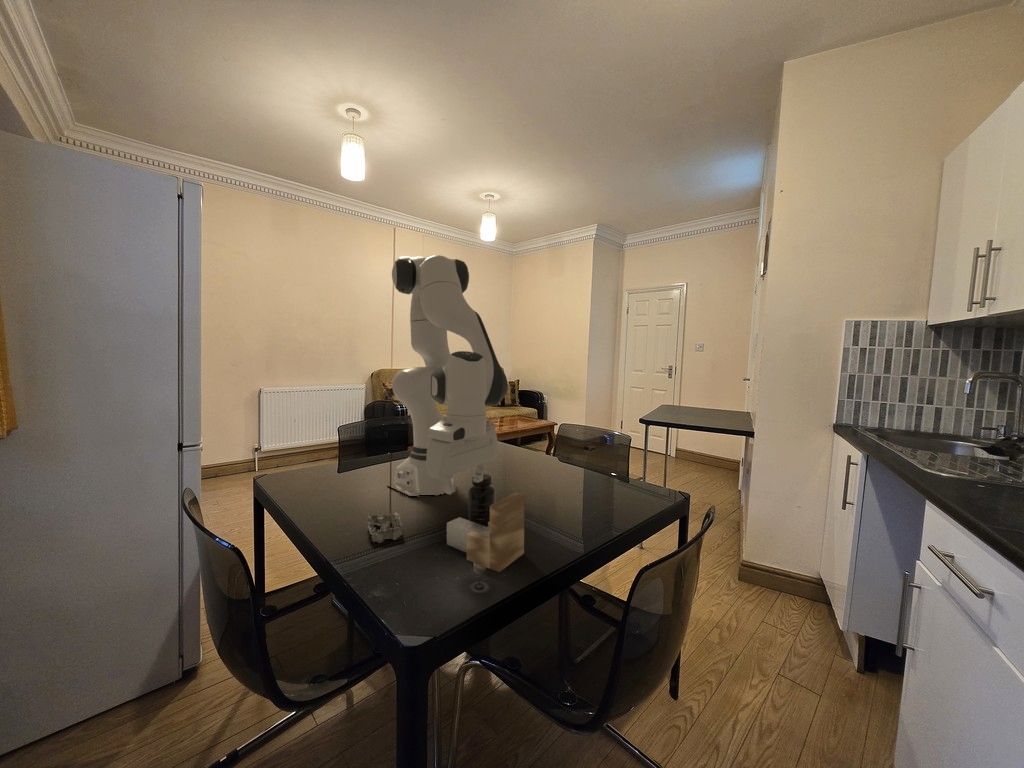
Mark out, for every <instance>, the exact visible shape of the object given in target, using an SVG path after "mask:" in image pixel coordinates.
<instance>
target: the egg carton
mask: <svg viewBox="0 0 1024 768" xmlns="http://www.w3.org/2000/svg"><path fill="white" fill-rule="evenodd" d="M386 521H391V522H392V524H390V523H387V524H384V523H386ZM374 523H378V524H381V527H379V528H380V531H381V532H379V534H378V533H377V526H374ZM402 526H403V522H402V519H401V516H400V513H399V512H394V513H388V514H385V513H384V514H382V517H378V515H377V514H376V513H375V514H374V513H373V514H371V513H370V512H368V513H367V529H368V528H369V530H368V532H369V534H370V533H371V535H372V536H371V539H372V538H373V539H377V540H383V539H384V538H385V537H392V538H398V536H400V535H402V536H403V527H402ZM393 527H394V528H393ZM398 539H399V538H398Z"/></svg>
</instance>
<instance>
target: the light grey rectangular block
mask: <svg viewBox="0 0 1024 768" xmlns="http://www.w3.org/2000/svg"><path fill="white" fill-rule="evenodd" d="M472 531H473V532H476V533H479V534H482V535H485V536H488V537H490V528H488V527H486V526H483V525H480V524H477V523H474V522H471V521H469V519H466V518H463V517H460V516H458V517H457V518H454V519H452V520H450V521H448V522H446V545H448V546H450V547H452V548H455V549H457V550H459V551H462V552H464V553H466V554H467V534H468V533H470V532H472Z"/></svg>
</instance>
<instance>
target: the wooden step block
mask: <svg viewBox="0 0 1024 768" xmlns="http://www.w3.org/2000/svg"><path fill="white" fill-rule="evenodd" d="M488 528H490V537H488V536H485V535H482V534H479V533H476V532H473V531H472V532H470V533H468V534H467V553H466V560H467V561H469V562H471V563H475V564H476V565H479V566H481V567H485V568H487V569H490V570H493V571H494V572H498V573H501V572H502V571H504V570H505V569H506V568H507V567H508V566H510V565H511V564H512V563H514V562H515V561H516V560H517V559H518V558H520V557H522V556H523V555H524V554H525V494H523V493H518V492H514V493H512V494H509V495H507V496H505V497H503V498H502V499H500V500H498V501H495V503H494V504H492V505H490V521H489V522H488Z"/></svg>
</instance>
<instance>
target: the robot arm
mask: <svg viewBox="0 0 1024 768" xmlns="http://www.w3.org/2000/svg"><path fill="white" fill-rule="evenodd" d="M391 279H392V282H393V284H394V288H395V289H396V290H397V291H398V292H399V293H401V294H404V295H411V300H410V310H409V311H410V312H409V319H410V320H409V321H410V323H409V324H410V343H411V348H412V349H413V351H415V353H416V354H418V355H419V356H421V359H422V360H423V362H424V365H425V366H412V367H408V368H405V369H404V368H403V369H401V370H399V371H397V372H396V373H395V375H394V376H393V379H392V384H391V388H392V392H393V395H394V396H395V398H396V399H397V400H398V401H399V402H400V403H401V404H403V405H404V406H405V407H406V409H407V411H408V413H409V415H410V418H411V421H412V422H411V423H412V430H413V431H412V432H413V433H412V434H413V435H412V436H413V445H411V446H408V447H407V451H408V452H409V451H410V454H409V456H408V457H407V458H406V459H405V460H404V461H402V462H401V463H400V464H398V465H397V467H396V468H395V472H394V479H395V482H394V483H396V487H397V488H398V489H400V490H401V491H403V492H405V493H407V494H409V495H435V496H439V495H440V494H441V495H445V494H447V495H453V494H454V493H455V492H456V484H454V478H453V476H454V474H457V473H460V472H463V471H465V470H468V469H472V468H474V467H476V470H475V473H473V474H472V475H473V476H472V477H474V478H473V481H474V482H477V483H479V482H481V481H483V474H485V471H486V470H487V469H486V468H487V465H488V462H491V461H493V460H496V458H497V456H498V453H499V452H498V451H499V450H498V448H499V447H498V436H497V434H498V433H497V432H496V427H495V424H494V423H493V422H492V421H491V420H487V407H495V406H498V404H499V403H500V402H502V401H503V399H505V397H506V395H507V393H508V388H509V387H508V386H509V382H508V379H507V375H506V373H505V371H504V369H503V368H502V366H501V365H500V363H499V361H498V358H497V355H496V353H495V350H494V347H493V345H492V343H491V339H490V337H489V334H488V332H487V329H486V327H485V324H484V322H483V320H482V318H481V316H480V314H479V313H478V312H477V311H476V310H474V309H473V308H472V307H471V306H470V304H469V303H468V302H467V300H466V299H465V296H464V293H465V292H466V291H467V289H468V287H469V282H470V272H469V268H468V265H467V263H466V262H465V261H463V260H461V259H457V258H448V256H447V257H446V256H444V255H437V254H435V255H431V256H409V255H405V256H399V257H398V258H397V259H396V260H395V261H394V264H393V266H392V269H391ZM448 331H449V332H451V333H452V334H455V335H457V336H460V337H461V338H464V340H466V341H467V342H468V344H469V345H470V347H471V350H472V351H466V350H462V351H455V352H450V348H449V344H448V343H449V342H448ZM437 403H438V404H439V405H443V406H446V410H445V415H443V414H442V413H440V411H439V409H438V407H437ZM409 492H411V493H409ZM444 493H445V494H444ZM441 495H440V496H441Z"/></svg>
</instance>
